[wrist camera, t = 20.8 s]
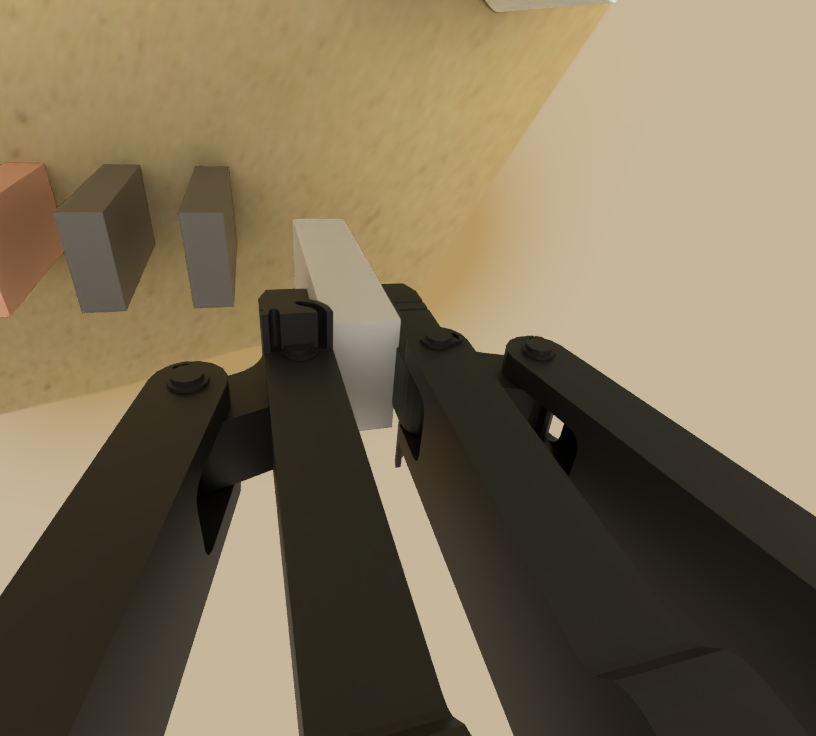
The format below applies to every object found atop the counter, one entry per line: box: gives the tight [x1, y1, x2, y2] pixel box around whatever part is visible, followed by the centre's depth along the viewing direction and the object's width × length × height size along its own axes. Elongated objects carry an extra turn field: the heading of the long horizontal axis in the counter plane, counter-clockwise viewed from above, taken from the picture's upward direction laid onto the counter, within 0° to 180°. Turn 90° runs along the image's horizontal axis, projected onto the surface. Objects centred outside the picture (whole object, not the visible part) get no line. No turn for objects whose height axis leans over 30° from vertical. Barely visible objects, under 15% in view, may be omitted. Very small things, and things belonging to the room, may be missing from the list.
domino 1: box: [0, 163, 64, 317], centre depth 28 cm, size 2×5×10 cm, turn 176°
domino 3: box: [178, 166, 237, 308], centre depth 30 cm, size 2×5×10 cm, turn 176°
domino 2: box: [53, 164, 155, 313], centre depth 29 cm, size 2×5×10 cm, turn 176°
